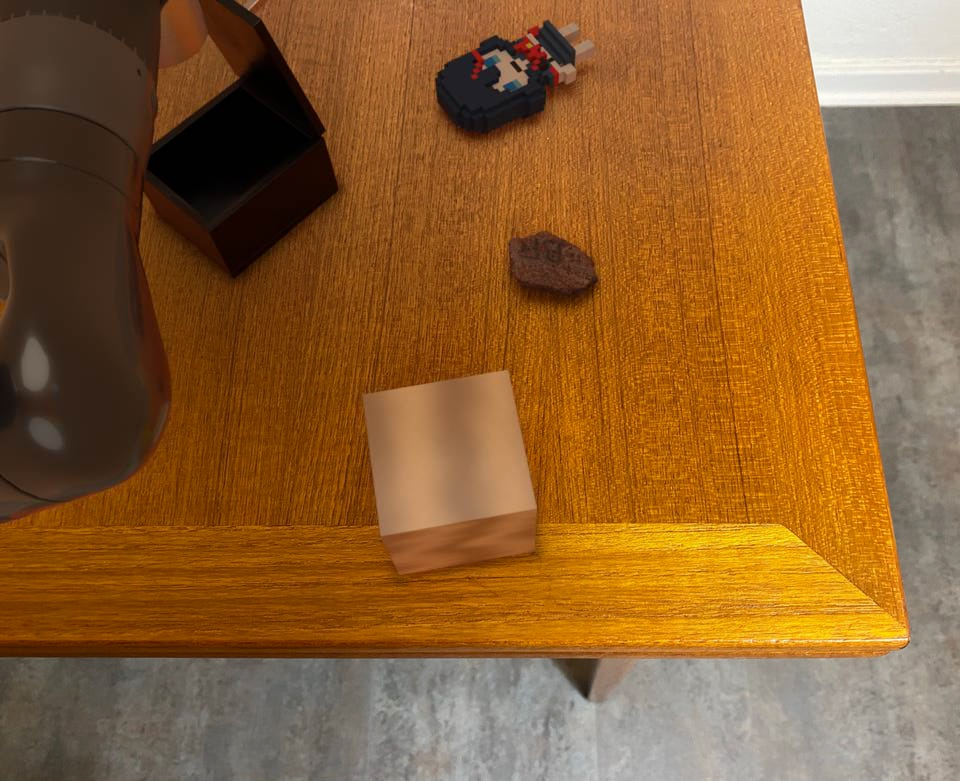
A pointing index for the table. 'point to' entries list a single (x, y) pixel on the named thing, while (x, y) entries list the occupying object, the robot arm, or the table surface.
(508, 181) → the table surface
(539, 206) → the table surface
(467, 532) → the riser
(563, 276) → the stone
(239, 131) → the dark brown box
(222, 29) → the lid
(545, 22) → the figurine
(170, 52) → the canister
